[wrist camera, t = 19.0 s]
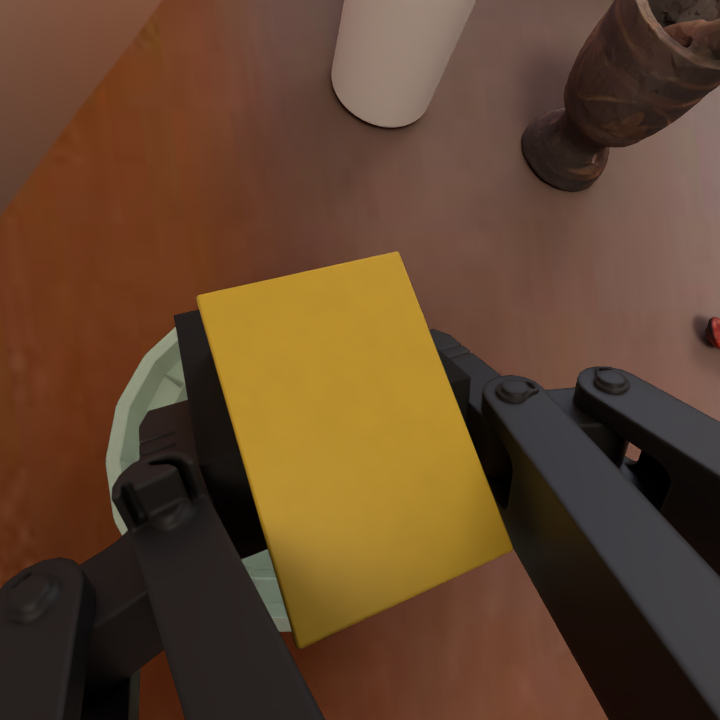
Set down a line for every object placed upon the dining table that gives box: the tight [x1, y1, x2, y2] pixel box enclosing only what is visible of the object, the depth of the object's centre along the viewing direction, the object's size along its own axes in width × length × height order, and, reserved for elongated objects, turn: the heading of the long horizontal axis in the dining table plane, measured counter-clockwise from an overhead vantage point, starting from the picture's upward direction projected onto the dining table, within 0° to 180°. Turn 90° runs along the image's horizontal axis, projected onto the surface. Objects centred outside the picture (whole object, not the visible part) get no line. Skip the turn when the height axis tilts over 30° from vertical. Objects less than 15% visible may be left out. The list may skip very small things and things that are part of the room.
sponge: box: [196, 252, 513, 649], centre depth 12 cm, size 4×6×9 cm, turn 20°
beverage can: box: [331, 0, 476, 127], centre depth 31 cm, size 8×8×12 cm
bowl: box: [105, 327, 292, 632], centre depth 25 cm, size 16×16×6 cm
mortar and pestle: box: [522, 0, 720, 192], centre depth 30 cm, size 12×9×20 cm
